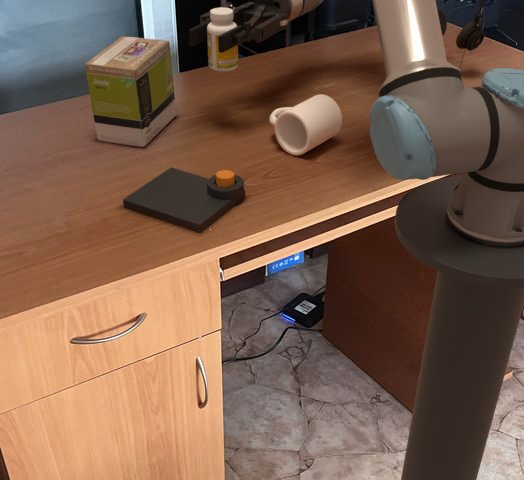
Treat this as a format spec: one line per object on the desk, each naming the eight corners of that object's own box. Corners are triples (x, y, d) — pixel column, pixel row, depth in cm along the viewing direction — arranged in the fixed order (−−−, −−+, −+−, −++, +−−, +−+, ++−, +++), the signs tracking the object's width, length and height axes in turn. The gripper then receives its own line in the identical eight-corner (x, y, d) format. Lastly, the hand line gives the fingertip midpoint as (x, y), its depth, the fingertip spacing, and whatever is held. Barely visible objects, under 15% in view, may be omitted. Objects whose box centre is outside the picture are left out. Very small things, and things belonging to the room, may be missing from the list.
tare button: (238, 182, 128) (238, 172, 126) (228, 190, 126) (227, 180, 124) (222, 177, 129) (222, 168, 128) (212, 185, 127) (212, 175, 126)
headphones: (394, 68, 173) (405, -29, 160) (428, 57, 179) (441, -39, 166) (448, 89, 164) (464, -13, 151) (482, 76, 170) (500, -23, 157)
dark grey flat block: (250, 195, 130) (250, 179, 128) (202, 233, 120) (201, 216, 119) (174, 172, 136) (173, 156, 134) (123, 207, 127) (121, 190, 125)
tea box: (131, 109, 156) (122, 33, 146) (177, 116, 153) (172, 39, 144) (95, 141, 145) (83, 61, 135) (144, 149, 143) (136, 68, 133)
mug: (341, 142, 145) (344, 100, 140) (309, 161, 139) (311, 118, 134) (289, 124, 151) (290, 83, 146) (256, 142, 145) (256, 100, 140)
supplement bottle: (244, 65, 143) (243, 9, 136) (226, 74, 139) (225, 17, 133) (220, 59, 145) (218, 4, 139) (202, 68, 142) (199, 11, 135)
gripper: (316, 34, 149) (251, 73, 134) (234, 18, 156) (164, 53, 141) (318, -8, 144) (250, 28, 129) (233, -23, 151) (160, 9, 136)
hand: (205, 41), depth 135 cm, fingers closed on supplement bottle, 5 cm apart
